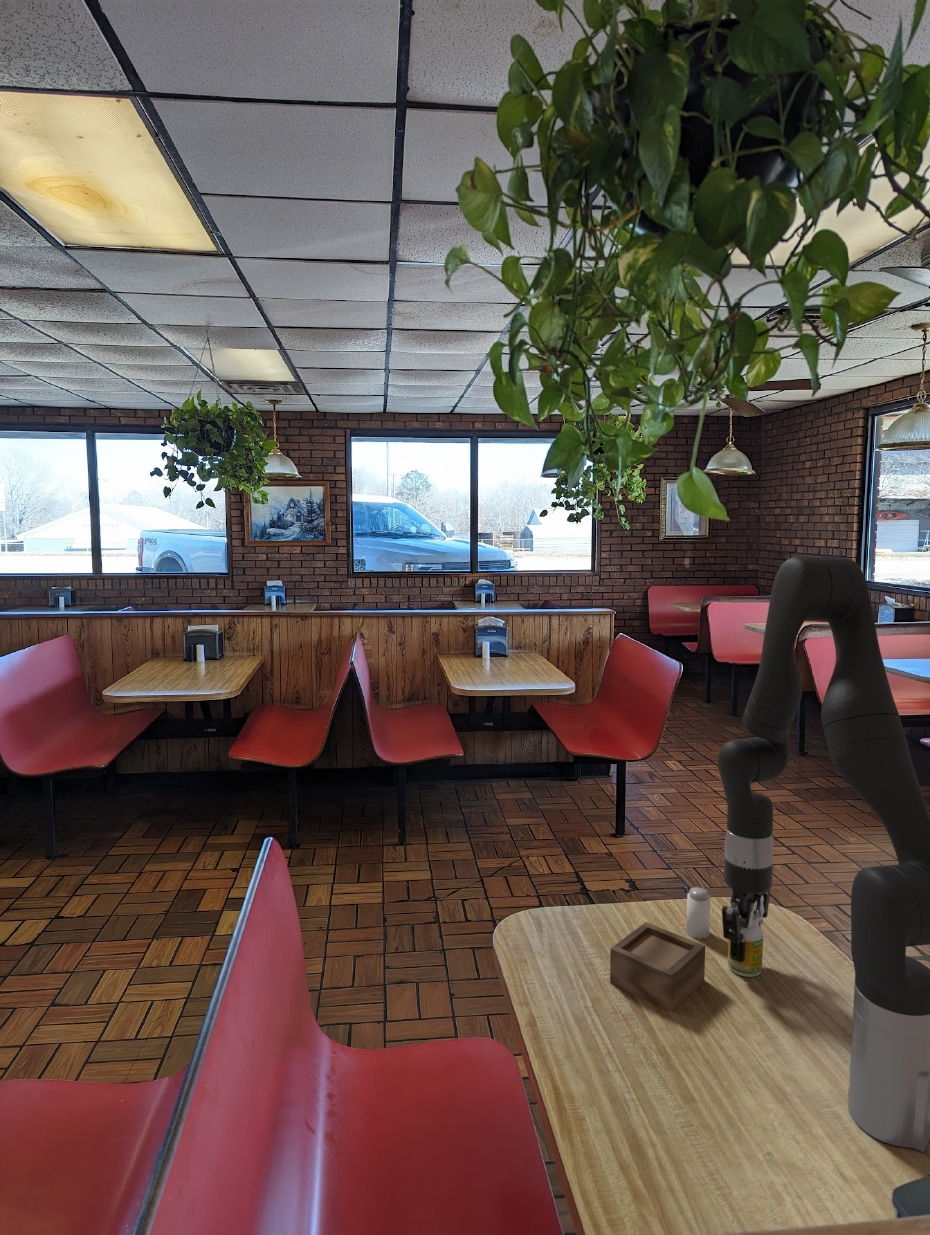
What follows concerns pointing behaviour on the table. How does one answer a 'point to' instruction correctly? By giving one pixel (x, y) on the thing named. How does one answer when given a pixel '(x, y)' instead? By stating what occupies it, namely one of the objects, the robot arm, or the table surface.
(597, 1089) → the table surface
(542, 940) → the table surface
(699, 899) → the sugar shaker
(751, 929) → the supplement bottle
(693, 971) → the walnut tray
